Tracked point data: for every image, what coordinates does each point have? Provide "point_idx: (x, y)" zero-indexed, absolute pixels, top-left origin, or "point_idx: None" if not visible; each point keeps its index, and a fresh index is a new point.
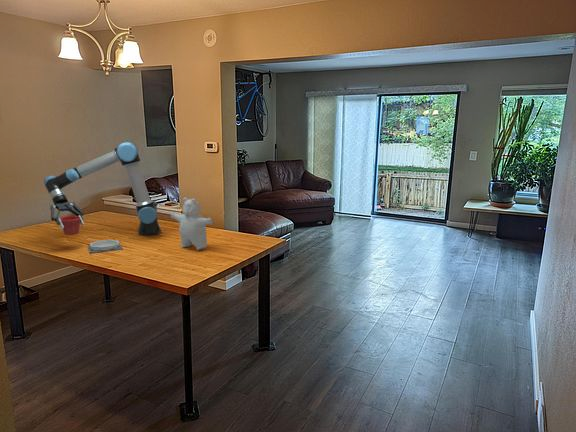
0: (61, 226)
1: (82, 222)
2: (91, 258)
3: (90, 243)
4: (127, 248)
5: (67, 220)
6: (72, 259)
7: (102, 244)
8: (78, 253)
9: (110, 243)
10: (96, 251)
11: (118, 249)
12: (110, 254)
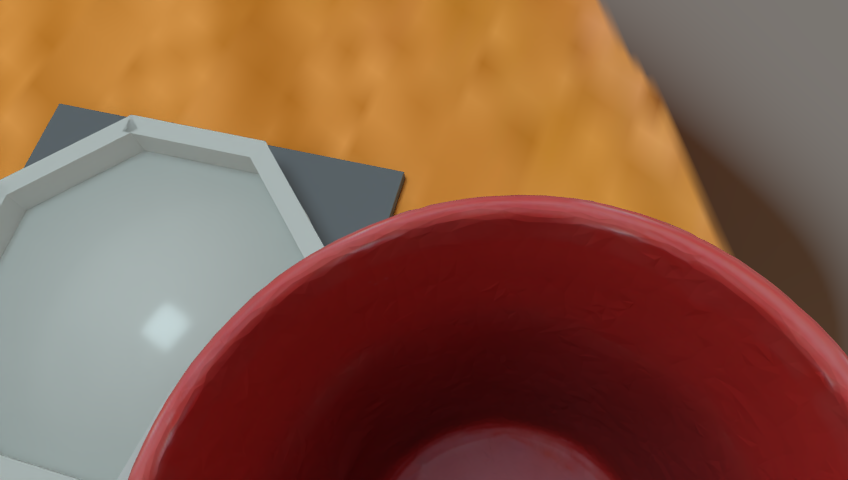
0: None
1: None
2: (466, 9)
3: None
4: (10, 116)
5: (687, 235)
6: (643, 87)
7: (123, 387)
8: None
9: (22, 363)
10: (325, 178)
11: (106, 114)
12: (260, 24)
